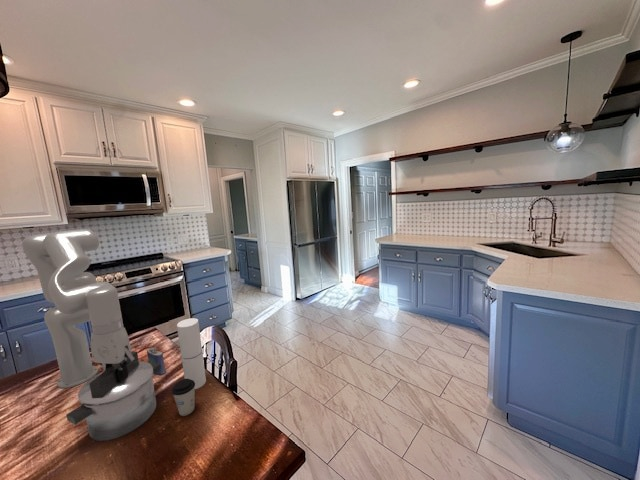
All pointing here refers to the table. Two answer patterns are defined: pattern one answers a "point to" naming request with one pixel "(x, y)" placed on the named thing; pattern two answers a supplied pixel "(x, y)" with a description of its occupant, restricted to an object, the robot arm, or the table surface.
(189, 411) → the coffee cup
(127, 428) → the cooker pot
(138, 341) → the table surface
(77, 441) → the table surface
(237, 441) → the table surface
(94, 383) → the lid
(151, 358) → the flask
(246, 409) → the table surface
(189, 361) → the cylindrical container
